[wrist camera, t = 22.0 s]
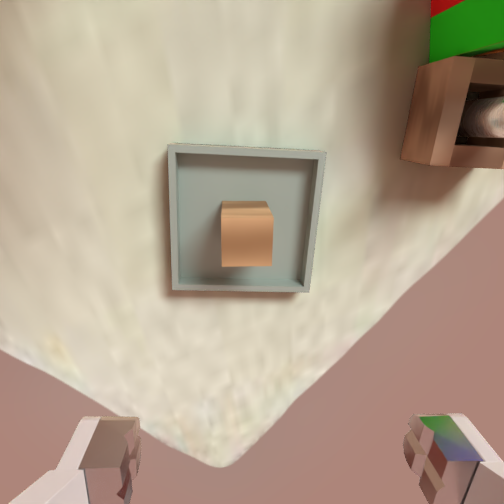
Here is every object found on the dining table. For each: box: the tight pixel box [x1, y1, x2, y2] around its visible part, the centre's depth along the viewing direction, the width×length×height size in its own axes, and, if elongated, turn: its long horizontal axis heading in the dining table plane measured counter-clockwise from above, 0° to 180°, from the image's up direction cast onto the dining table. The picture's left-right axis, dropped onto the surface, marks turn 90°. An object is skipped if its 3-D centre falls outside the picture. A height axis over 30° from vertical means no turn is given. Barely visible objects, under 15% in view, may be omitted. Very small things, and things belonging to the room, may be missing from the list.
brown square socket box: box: [400, 56, 504, 169], centre depth 28 cm, size 8×8×5 cm
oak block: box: [221, 201, 274, 267], centre depth 29 cm, size 4×4×6 cm
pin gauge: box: [457, 97, 504, 138], centre depth 25 cm, size 3×3×12 cm
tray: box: [168, 143, 327, 292], centre depth 32 cm, size 13×13×2 cm
